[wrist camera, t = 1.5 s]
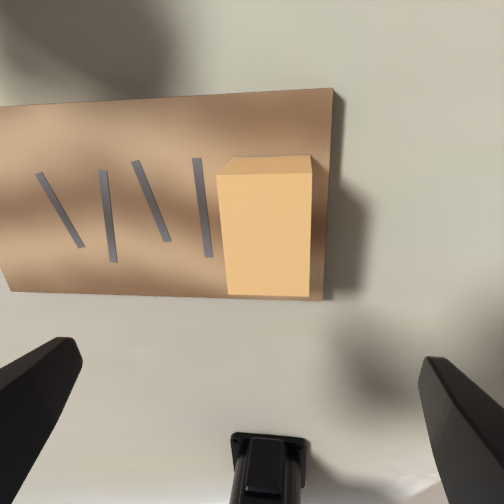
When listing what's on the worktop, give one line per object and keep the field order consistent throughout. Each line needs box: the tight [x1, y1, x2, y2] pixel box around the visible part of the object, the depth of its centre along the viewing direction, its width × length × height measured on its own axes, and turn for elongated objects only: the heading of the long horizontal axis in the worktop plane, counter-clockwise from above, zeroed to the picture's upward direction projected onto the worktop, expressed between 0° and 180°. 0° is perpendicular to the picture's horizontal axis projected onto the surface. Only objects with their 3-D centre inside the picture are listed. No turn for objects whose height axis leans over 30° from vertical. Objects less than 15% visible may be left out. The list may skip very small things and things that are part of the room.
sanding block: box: [216, 155, 312, 297], centre depth 17 cm, size 6×4×4 cm, turn 3°
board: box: [0, 88, 333, 301], centre depth 20 cm, size 12×22×1 cm, turn 93°
